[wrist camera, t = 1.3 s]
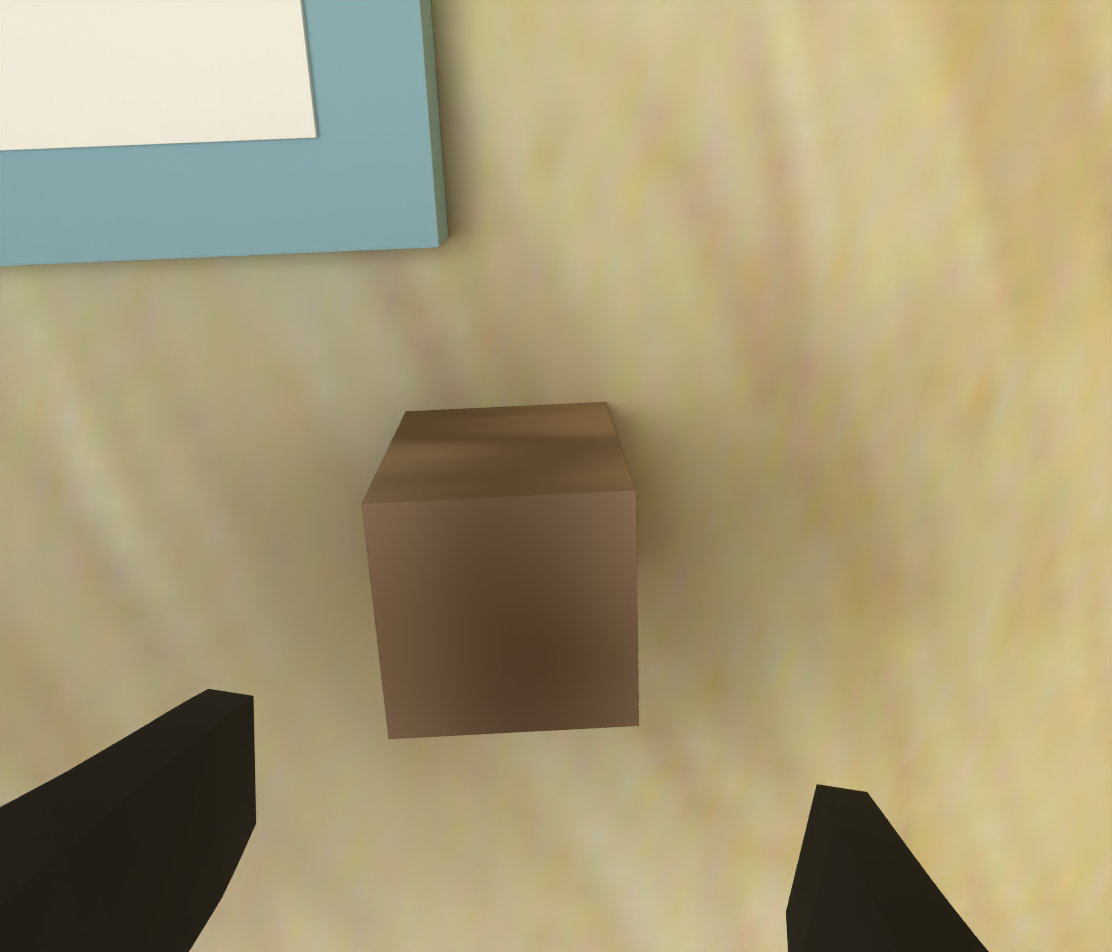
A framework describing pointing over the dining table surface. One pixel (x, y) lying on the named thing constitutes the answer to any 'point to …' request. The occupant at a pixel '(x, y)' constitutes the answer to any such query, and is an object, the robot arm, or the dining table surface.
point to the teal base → (217, 129)
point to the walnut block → (505, 572)
